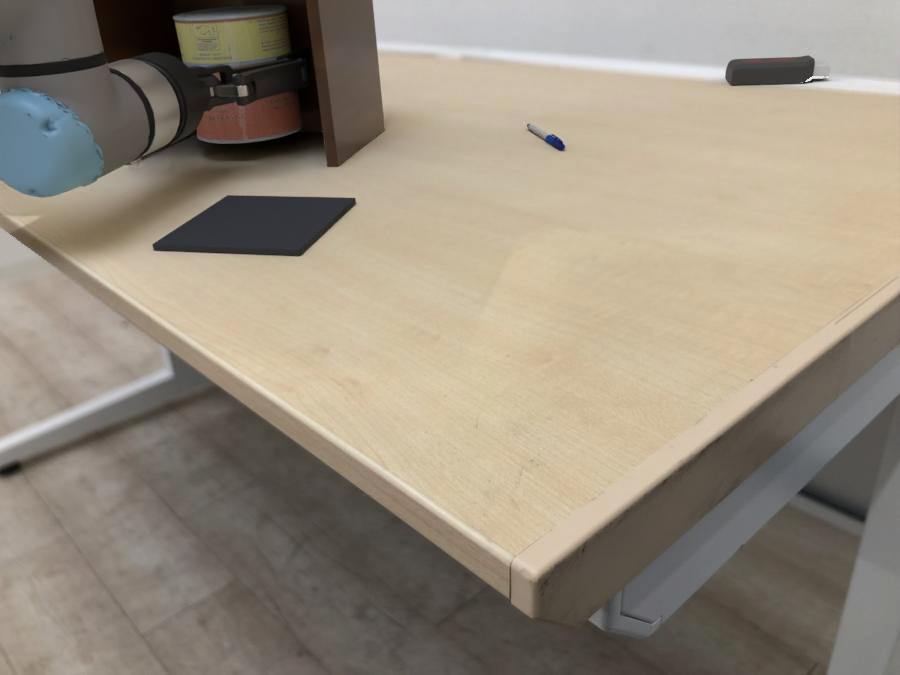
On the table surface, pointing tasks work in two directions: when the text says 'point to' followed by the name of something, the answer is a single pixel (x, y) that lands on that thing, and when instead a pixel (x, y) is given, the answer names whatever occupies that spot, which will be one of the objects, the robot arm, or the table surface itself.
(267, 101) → the canned food
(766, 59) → the usb drive
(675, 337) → the table surface
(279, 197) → the mat
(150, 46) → the cubby
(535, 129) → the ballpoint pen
